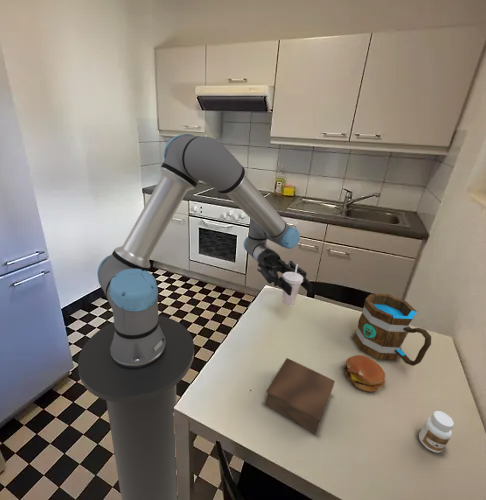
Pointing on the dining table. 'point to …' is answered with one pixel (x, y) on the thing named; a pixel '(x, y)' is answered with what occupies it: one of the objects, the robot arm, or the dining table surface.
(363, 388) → the burger
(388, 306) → the mug
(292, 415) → the walnut box
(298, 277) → the smoothie
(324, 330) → the dining table surface
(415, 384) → the dining table surface
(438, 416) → the pill bottle
